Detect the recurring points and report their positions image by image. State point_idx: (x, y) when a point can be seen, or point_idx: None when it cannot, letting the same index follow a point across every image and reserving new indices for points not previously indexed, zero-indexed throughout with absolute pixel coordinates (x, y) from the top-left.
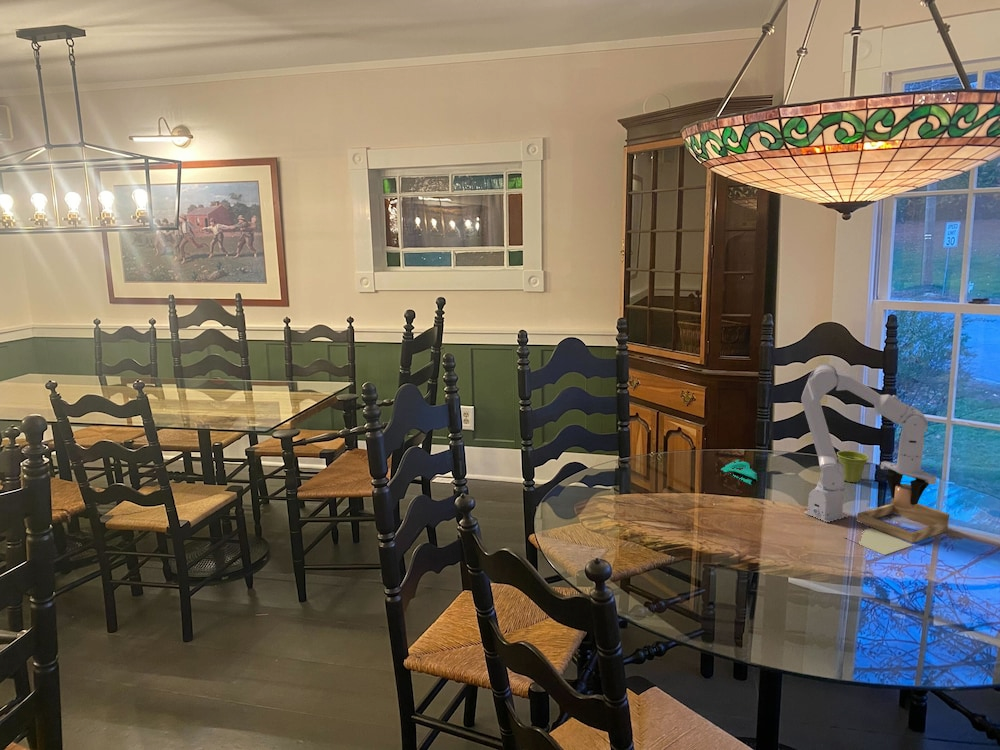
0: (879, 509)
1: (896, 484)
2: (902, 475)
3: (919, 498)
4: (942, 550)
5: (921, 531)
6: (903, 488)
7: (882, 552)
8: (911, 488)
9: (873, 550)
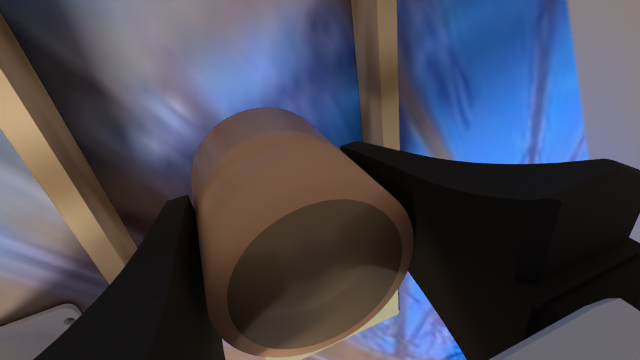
0: (71, 178)
1: (225, 337)
2: (160, 352)
3: (386, 148)
4: (457, 135)
5: None
6: (354, 327)
7: (388, 314)
8: (440, 314)
9: (368, 326)
